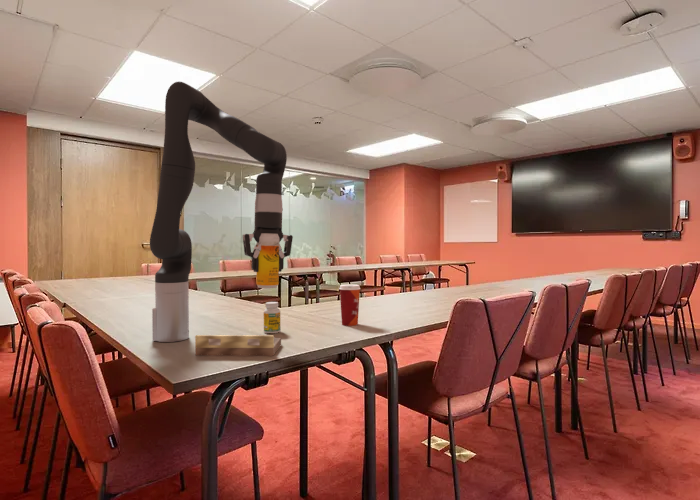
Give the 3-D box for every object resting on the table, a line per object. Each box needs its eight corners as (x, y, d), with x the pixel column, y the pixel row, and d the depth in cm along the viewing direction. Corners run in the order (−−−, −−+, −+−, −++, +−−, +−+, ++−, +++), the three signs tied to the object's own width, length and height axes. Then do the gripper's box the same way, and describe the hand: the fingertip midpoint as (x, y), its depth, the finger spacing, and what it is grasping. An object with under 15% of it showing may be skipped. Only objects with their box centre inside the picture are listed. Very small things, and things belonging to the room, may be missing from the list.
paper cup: (360, 326, 142) (360, 286, 142) (338, 326, 142) (338, 286, 142) (360, 322, 150) (360, 283, 149) (339, 322, 150) (339, 283, 150)
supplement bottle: (276, 329, 137) (276, 301, 137) (283, 332, 132) (283, 302, 132) (261, 331, 134) (261, 302, 134) (267, 334, 129) (267, 304, 129)
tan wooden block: (195, 355, 105) (195, 336, 105) (210, 344, 116) (210, 327, 116) (273, 355, 105) (272, 336, 105) (281, 345, 116) (280, 327, 116)
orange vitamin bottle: (273, 289, 111) (274, 233, 111) (252, 288, 112) (253, 233, 112) (281, 286, 117) (282, 234, 117) (262, 285, 118) (263, 233, 118)
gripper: (288, 213, 121) (287, 270, 121) (239, 210, 114) (238, 271, 114) (297, 212, 115) (296, 272, 115) (246, 209, 108) (245, 273, 108)
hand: (267, 271), depth 115 cm, fingers closed on orange vitamin bottle, 6 cm apart
